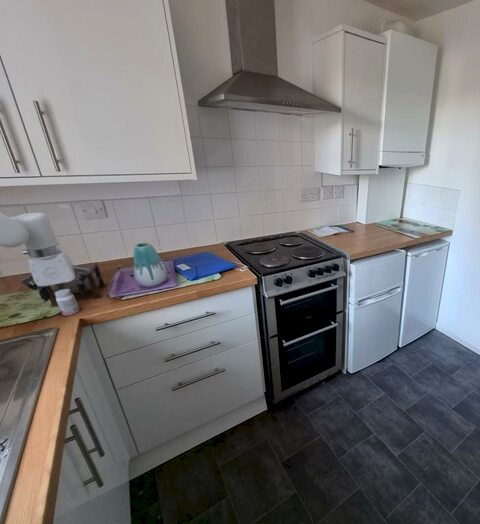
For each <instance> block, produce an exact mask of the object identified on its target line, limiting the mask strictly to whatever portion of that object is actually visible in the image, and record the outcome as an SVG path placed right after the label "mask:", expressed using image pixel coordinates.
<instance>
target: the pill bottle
mask: <svg viewBox="0 0 480 524" xmlns="http://www.w3.org/2000/svg"><path fill="white" fill-rule="evenodd" d="M55 297H56V302H57V304H58V305H57V307H58V308H59V310H60V313H61V314H62V315H63V316H70V315H73V314H76V313H78V312H79V311H80V307H79V304H78V302H77V300H76V297H75V295H74V293H71V291H70V289H62V290H59V291H57V292H55Z"/></svg>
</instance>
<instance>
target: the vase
mask: <svg viewBox="0 0 480 524" xmlns="http://www.w3.org/2000/svg"><path fill="white" fill-rule="evenodd" d="M133 276H134V279H135V281H136V282H137V283H138V284H139V285H140V286H142V287H146V288H152V287H156V286H160V285H162V284H163V283H164V282H165V281H166V279H167V278H168V269H167V266H166V265H165V263H164V261H163V260H162V258H161V257H160V255H159V253H158V252H157V250H156V248H155V247H154V246H153V244H151V243H149V242H138V243H136V244H135V246H134V248H133Z"/></svg>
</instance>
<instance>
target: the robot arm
mask: <svg viewBox="0 0 480 524" xmlns="http://www.w3.org/2000/svg"><path fill="white" fill-rule="evenodd" d="M23 245H24V246H25V249H23V250H22V251H21V253H22V255H28V256H29V257H28V258H27V261H28V267H29V270H30V275H29V276H27V277H25V278H23V279H22V280H21V284H23V285H24V286H26V287H27V288H29V289H31V290H34V291H35V292H36V293H37V292H38V294H39V296H40V298H41V299H43V301H44V302H48V301H50V300H49V299H50V295H49V293H48V291H47V288H45V287H44V286H54V285H55V284H61V283H66V282H71V281H74V282H76V283H78V284H77V286H78V289H79V293H80V295H84V294H85V293H86V291H87V290H86V286H85V284H84V280H85V279H86V278H87V276H88V273H89V269H86V268H81V267H75V266H74V265H75V264H74V263H73V261H72V260H71V259H72V258H70V256H69V255H68V253H67V252H66V251H65V250H62V248H61V245H60V243H59V240H58V238H57V236H56V234H55V231H54V229H53V226H52V225H51V222H50V220H49V218H48V216H47V215H46V214H45V213H44V212H28V213H27V212H26V213H23V214H22V213H21V214H19V215H15V216H7V215H6V214H4V213H2V212H0V247H4V248H17V247H21V246H23ZM77 272H82V273H83V276H82V277H80V276H78V275H77ZM32 280H33V282H32Z"/></svg>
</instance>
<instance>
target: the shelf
mask: <svg viewBox="0 0 480 524" xmlns="http://www.w3.org/2000/svg"><path fill="white" fill-rule="evenodd" d="M73 265H74V266H75V267H81V268H86V269H89V273H88V276H87V278H86V279H85V280H84V284H85V286H86V291H89V290H91V291H92V294H93V296H94V299H99V298H101V294H100V291H99V288H98V286H99V287H100V288H102V287H103V288H104V287H105V286H106V283H105V281H104V278H103V275H102V272H101V270H100V267H99V264H98V262H97V261H94V262H86V263H81V264H80V263H79V264H73ZM93 274H94V275H93ZM77 275H78V276H80V277H82V276H83V273H82V272H77ZM77 284H78V283H76V282H74V281H71V282H66V283H61V284H55V285H53V286H52V285H50V286H44V287H45V288H47V291H48V293H49V295H50V299H49V300H48V301H49V302H50V304H51V306H52V307H58V304H57V302H56V298H57V297H56V296H55V292H57V291H59V290H62V289H70V291H71V294H74V293H78V292H79V293H80V291H79V289H78V286H77Z"/></svg>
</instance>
